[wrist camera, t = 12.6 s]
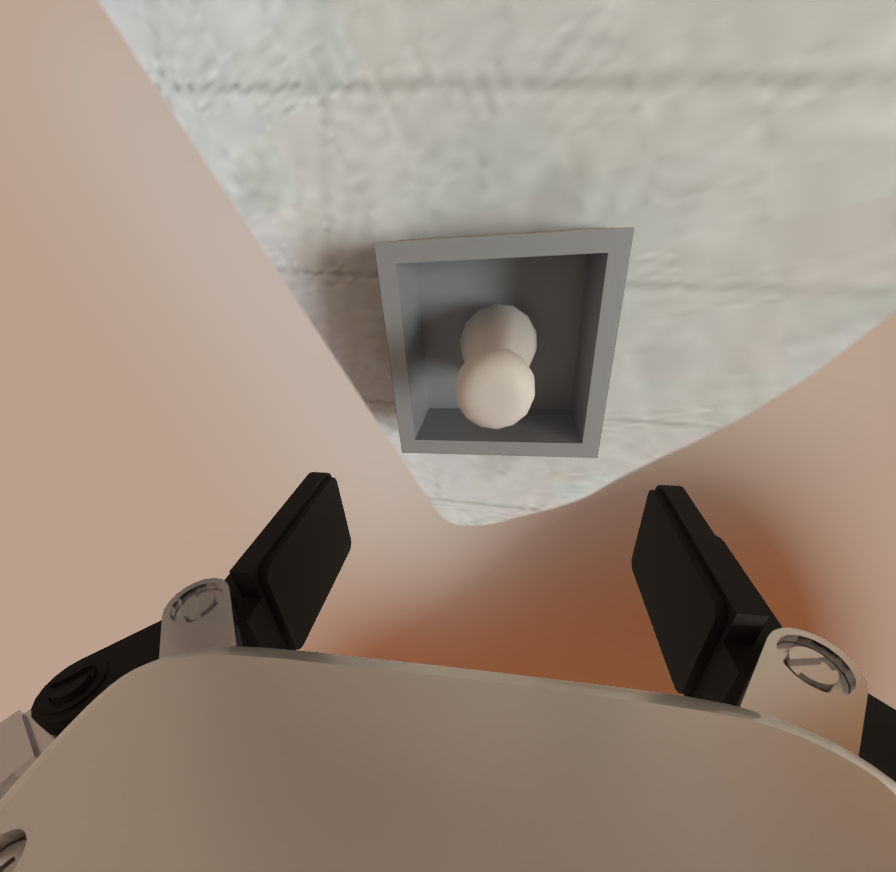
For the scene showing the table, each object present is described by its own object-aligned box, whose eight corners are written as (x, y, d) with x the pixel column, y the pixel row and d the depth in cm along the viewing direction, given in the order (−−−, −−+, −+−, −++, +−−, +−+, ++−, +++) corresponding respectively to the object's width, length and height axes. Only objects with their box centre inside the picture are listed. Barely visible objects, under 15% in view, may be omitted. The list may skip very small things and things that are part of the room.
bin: (402, 240, 29) (374, 243, 23) (605, 227, 27) (634, 227, 21) (419, 415, 36) (401, 452, 30) (581, 416, 34) (597, 457, 28)
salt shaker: (476, 378, 32) (459, 457, 21) (453, 314, 30) (420, 365, 19) (543, 357, 31) (563, 431, 19) (524, 287, 28) (534, 325, 17)
